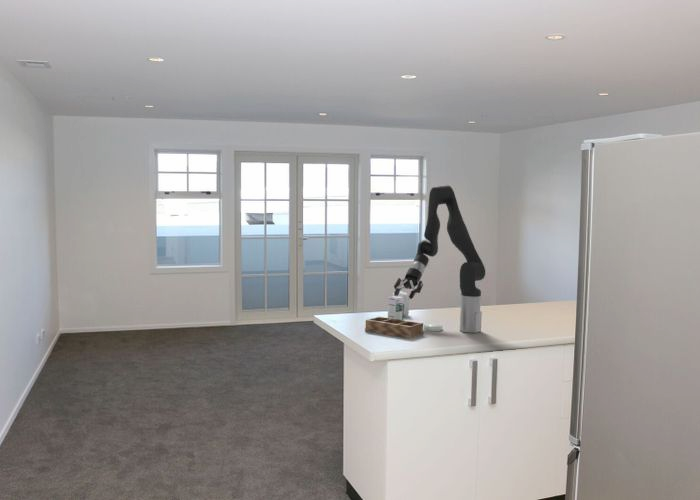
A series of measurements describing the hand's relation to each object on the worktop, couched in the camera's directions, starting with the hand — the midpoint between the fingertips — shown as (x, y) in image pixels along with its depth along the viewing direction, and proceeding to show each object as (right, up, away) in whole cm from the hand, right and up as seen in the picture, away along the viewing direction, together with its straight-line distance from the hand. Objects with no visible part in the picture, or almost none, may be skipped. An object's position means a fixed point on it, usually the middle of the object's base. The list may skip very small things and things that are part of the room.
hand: (402, 296), depth 334 cm
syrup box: (-4, -14, -4) cm, 15 cm away
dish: (+14, -15, -10) cm, 23 cm away
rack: (-6, -15, -20) cm, 26 cm away
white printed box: (+1, -11, +28) cm, 30 cm away
